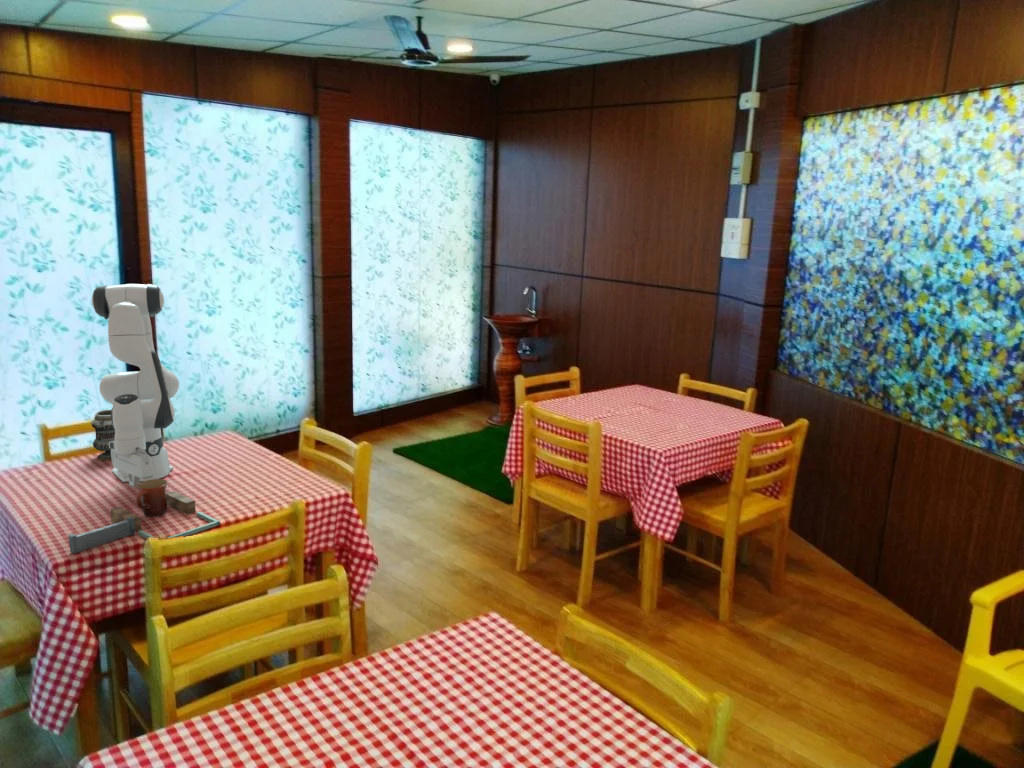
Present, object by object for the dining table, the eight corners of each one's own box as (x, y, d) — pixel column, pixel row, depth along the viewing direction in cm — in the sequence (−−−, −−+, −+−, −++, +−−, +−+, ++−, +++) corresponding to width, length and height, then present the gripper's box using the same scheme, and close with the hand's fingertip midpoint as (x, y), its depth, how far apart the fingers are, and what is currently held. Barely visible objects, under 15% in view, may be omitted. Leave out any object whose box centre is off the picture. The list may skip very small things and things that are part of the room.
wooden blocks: (111, 521, 248) (110, 509, 247) (174, 502, 264) (173, 491, 263) (132, 532, 240) (130, 520, 240) (195, 512, 257) (194, 500, 256)
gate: (70, 551, 227) (68, 534, 225) (132, 531, 240) (130, 516, 239) (73, 553, 225) (71, 536, 224) (135, 533, 239) (134, 517, 238)
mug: (151, 507, 260) (149, 478, 258) (175, 509, 258) (173, 480, 256) (127, 521, 248) (124, 490, 246) (152, 524, 247) (149, 493, 244)
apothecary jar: (105, 463, 301) (100, 418, 297) (88, 457, 308) (83, 412, 303) (135, 455, 311) (130, 411, 307) (117, 449, 317) (113, 406, 313)
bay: (138, 534, 239) (138, 530, 239) (199, 514, 254) (199, 511, 254) (158, 545, 232) (158, 541, 232) (220, 524, 247) (220, 521, 247)
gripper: (156, 448, 250) (160, 490, 253) (125, 437, 262) (128, 477, 265) (136, 453, 245) (140, 495, 248) (105, 441, 257) (109, 482, 260)
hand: (134, 486), depth 257 cm, fingers closed
